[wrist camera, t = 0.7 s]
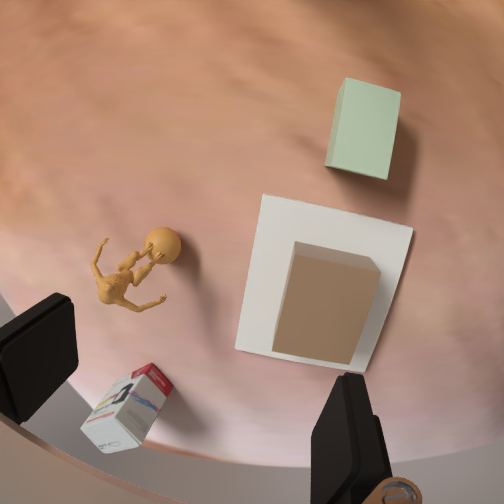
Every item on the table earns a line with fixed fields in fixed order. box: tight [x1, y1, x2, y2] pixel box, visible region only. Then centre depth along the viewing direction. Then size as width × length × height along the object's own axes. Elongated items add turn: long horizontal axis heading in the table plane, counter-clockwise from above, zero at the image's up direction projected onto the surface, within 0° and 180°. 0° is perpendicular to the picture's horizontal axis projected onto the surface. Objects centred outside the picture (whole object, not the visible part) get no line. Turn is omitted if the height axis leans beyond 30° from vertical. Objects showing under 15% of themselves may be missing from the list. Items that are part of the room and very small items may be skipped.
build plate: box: [234, 193, 413, 372], centre depth 32 cm, size 18×16×6 cm
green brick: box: [325, 77, 401, 180], centre depth 27 cm, size 8×5×6 cm, turn 170°
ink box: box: [80, 363, 173, 453], centre depth 36 cm, size 9×5×12 cm, turn 124°
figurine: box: [91, 227, 181, 312], centre depth 30 cm, size 8×6×12 cm
